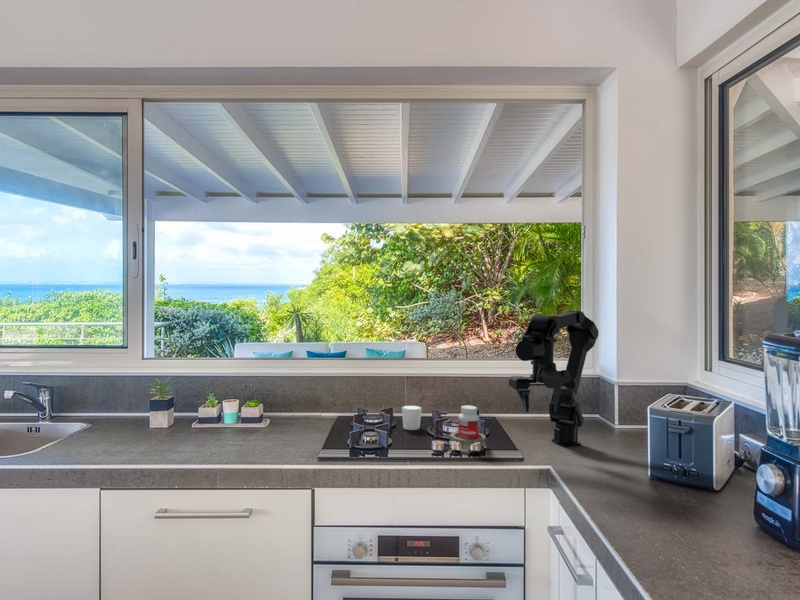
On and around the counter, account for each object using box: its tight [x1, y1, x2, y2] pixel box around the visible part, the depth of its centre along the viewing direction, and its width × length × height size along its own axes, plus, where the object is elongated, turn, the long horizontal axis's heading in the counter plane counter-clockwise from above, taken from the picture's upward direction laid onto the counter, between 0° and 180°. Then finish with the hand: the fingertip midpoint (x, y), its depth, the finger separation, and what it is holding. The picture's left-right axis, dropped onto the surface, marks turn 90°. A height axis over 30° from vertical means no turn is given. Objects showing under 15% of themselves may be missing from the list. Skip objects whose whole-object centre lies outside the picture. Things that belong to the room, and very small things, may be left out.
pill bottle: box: [457, 405, 480, 440], centre depth 148 cm, size 6×6×11 cm
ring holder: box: [449, 430, 487, 452], centre depth 148 cm, size 11×11×4 cm
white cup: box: [401, 404, 423, 431], centre depth 169 cm, size 7×7×7 cm
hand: (541, 412), depth 144 cm, fingers open, 9 cm apart
